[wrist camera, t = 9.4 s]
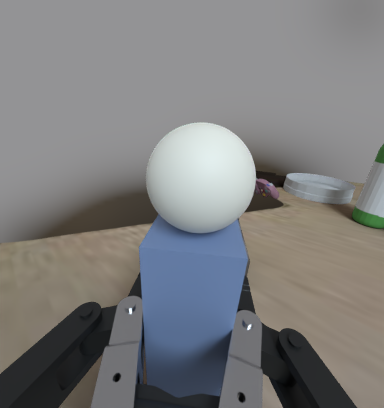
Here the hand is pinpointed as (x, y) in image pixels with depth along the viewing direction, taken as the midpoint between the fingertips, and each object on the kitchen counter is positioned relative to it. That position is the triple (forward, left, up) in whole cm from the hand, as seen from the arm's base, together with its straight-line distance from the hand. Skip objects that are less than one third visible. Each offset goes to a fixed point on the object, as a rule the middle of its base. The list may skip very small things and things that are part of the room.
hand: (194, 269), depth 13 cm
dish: (+5, +74, -13) cm, 76 cm away
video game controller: (-10, +56, -13) cm, 58 cm away
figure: (+1, -2, -11) cm, 11 cm away
